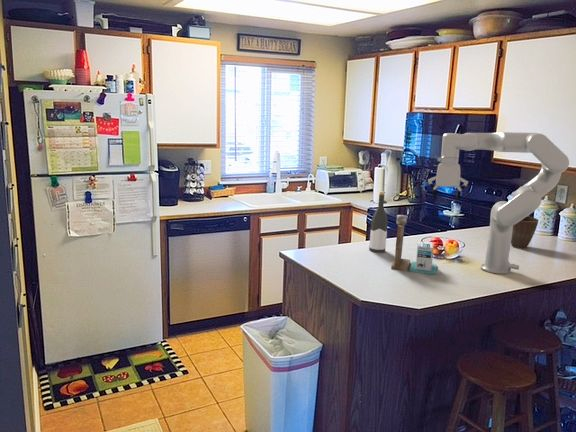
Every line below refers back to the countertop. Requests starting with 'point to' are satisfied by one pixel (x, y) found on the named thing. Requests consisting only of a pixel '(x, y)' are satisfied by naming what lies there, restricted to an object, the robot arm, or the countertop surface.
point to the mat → (433, 270)
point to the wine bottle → (379, 228)
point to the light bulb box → (424, 255)
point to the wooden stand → (400, 245)
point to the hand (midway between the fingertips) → (446, 198)
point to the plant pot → (523, 232)
